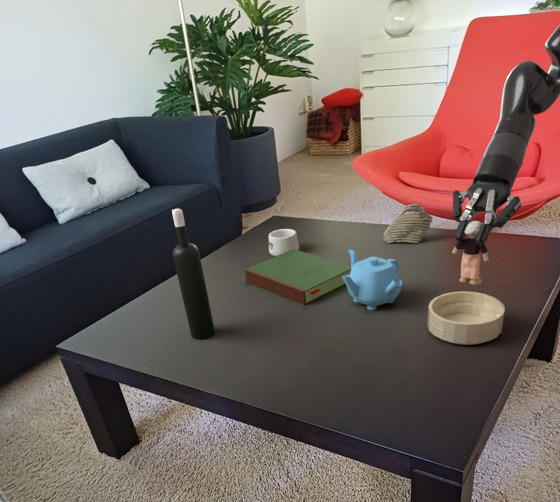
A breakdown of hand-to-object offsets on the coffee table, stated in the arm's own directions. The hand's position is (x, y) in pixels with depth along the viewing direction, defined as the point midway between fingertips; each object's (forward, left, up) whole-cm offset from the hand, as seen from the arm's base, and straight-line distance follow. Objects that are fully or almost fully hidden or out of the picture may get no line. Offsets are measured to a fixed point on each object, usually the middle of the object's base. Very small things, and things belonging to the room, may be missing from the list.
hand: (468, 242), depth 103 cm
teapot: (+25, -3, -21) cm, 32 cm away
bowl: (0, -1, -20) cm, 20 cm away
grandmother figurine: (0, -2, -9) cm, 9 cm away
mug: (+69, -20, -21) cm, 75 cm away
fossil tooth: (+38, -44, -21) cm, 62 cm away
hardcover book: (+49, -4, -21) cm, 53 cm away
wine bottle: (+51, +31, -21) cm, 63 cm away
